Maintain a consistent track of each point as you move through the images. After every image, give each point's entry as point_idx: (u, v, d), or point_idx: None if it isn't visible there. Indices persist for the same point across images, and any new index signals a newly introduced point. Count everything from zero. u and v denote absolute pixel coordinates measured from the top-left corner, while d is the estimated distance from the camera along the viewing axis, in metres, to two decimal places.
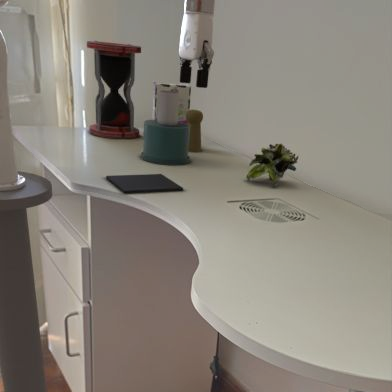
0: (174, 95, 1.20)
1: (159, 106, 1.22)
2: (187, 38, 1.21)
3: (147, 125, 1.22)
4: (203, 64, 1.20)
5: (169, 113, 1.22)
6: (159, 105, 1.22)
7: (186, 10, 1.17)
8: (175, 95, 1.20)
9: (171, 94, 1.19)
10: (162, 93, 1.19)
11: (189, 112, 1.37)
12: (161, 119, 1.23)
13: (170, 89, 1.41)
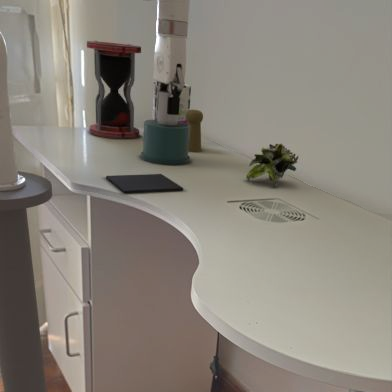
0: None
1: (159, 106, 1.22)
2: (160, 61, 1.16)
3: (147, 125, 1.22)
4: (174, 93, 1.17)
5: None
6: (159, 105, 1.22)
7: (158, 32, 1.12)
8: None
9: None
10: (162, 93, 1.19)
11: (189, 112, 1.37)
12: (161, 119, 1.23)
13: None
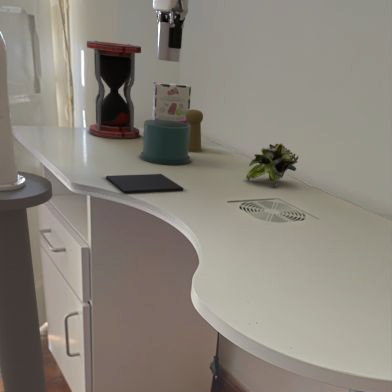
0: None
1: (160, 39, 1.11)
2: None
3: (147, 125, 1.22)
4: (176, 22, 1.07)
5: None
6: (160, 38, 1.11)
7: None
8: None
9: None
10: (163, 23, 1.09)
11: (189, 112, 1.37)
12: (161, 54, 1.12)
13: (170, 89, 1.41)
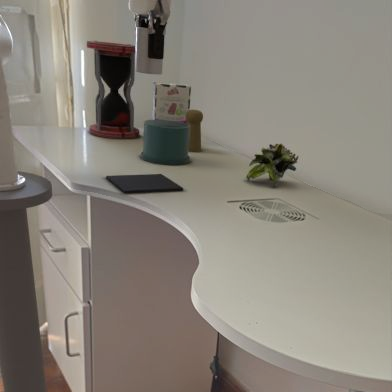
0: None
1: (137, 48, 0.92)
2: None
3: (147, 125, 1.22)
4: (156, 27, 0.88)
5: None
6: (137, 46, 0.92)
7: None
8: None
9: None
10: (141, 29, 0.90)
11: (189, 112, 1.37)
12: (140, 66, 0.93)
13: (170, 89, 1.41)
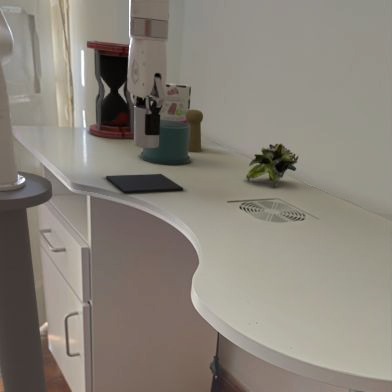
0: None
1: (135, 125, 0.99)
2: (134, 70, 0.94)
3: None
4: (152, 109, 0.94)
5: None
6: (135, 123, 0.99)
7: (131, 34, 0.90)
8: None
9: None
10: (138, 109, 0.96)
11: (189, 112, 1.37)
12: (138, 141, 1.00)
13: (170, 89, 1.41)
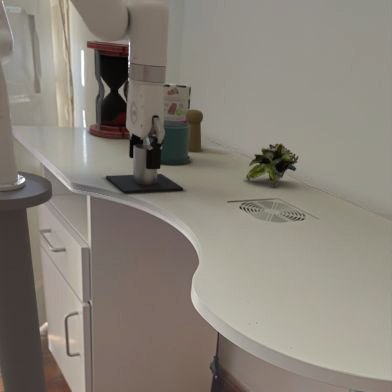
0: None
1: (134, 163, 1.03)
2: (133, 111, 0.98)
3: None
4: (153, 143, 0.97)
5: (146, 171, 1.03)
6: (134, 162, 1.03)
7: (130, 79, 0.94)
8: None
9: None
10: (137, 149, 1.01)
11: (189, 112, 1.37)
12: (137, 178, 1.04)
13: (170, 89, 1.41)
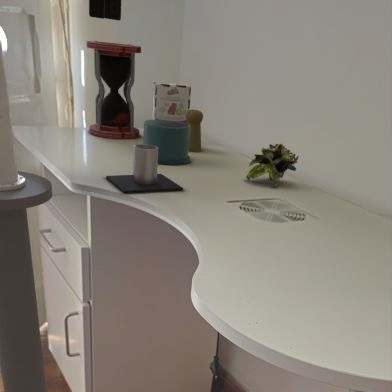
0: (152, 151, 1.01)
1: (134, 163, 1.03)
2: None
3: (147, 125, 1.22)
4: None
5: (146, 171, 1.03)
6: (134, 162, 1.03)
7: None
8: (153, 151, 1.01)
9: (148, 150, 1.01)
10: (137, 149, 1.01)
11: (189, 112, 1.37)
12: (137, 178, 1.04)
13: (170, 89, 1.41)
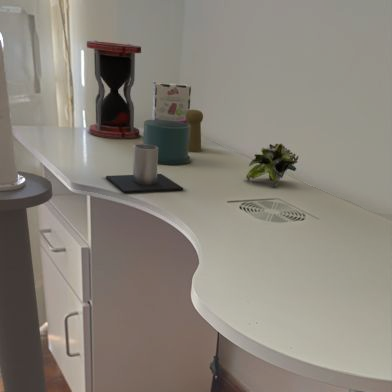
0: (152, 151, 1.01)
1: (134, 163, 1.03)
2: None
3: (147, 125, 1.22)
4: None
5: (146, 171, 1.03)
6: (134, 162, 1.03)
7: None
8: (153, 151, 1.01)
9: (148, 150, 1.01)
10: (137, 149, 1.01)
11: (189, 112, 1.37)
12: (137, 178, 1.04)
13: (170, 89, 1.41)
